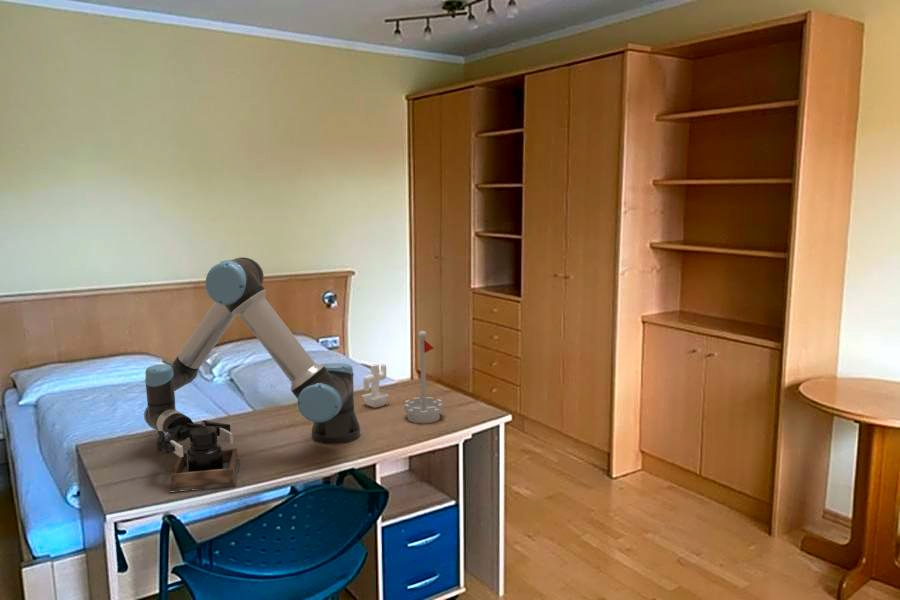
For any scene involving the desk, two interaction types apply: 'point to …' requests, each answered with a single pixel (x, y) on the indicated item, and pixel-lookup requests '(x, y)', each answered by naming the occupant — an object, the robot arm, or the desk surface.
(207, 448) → the ink bottle
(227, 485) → the tray
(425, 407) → the flag stand
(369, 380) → the figurine
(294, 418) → the desk surface
